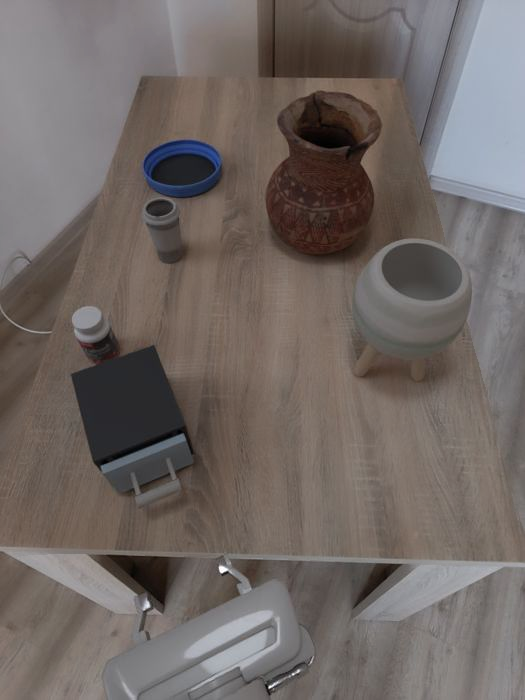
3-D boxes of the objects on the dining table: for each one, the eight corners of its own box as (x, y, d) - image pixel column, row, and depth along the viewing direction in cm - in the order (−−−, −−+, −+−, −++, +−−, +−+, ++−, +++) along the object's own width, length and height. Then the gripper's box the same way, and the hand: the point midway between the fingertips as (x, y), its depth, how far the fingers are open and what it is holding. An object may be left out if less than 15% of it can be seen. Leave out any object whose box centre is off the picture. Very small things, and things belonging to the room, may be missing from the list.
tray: (205, 493, 68) (198, 473, 61) (128, 527, 65) (111, 510, 59) (166, 390, 78) (156, 363, 71) (97, 416, 75) (80, 390, 68)
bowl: (231, 158, 115) (230, 144, 112) (208, 205, 105) (207, 191, 102) (161, 147, 118) (159, 134, 115) (133, 193, 108) (129, 179, 105)
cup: (150, 266, 95) (136, 219, 85) (155, 243, 98) (143, 195, 88) (186, 267, 94) (176, 219, 85) (190, 243, 98) (181, 195, 88)
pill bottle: (88, 369, 81) (68, 334, 73) (86, 343, 84) (66, 307, 76) (122, 361, 82) (106, 326, 74) (118, 335, 85) (103, 299, 77)
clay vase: (383, 257, 96) (415, 142, 75) (284, 279, 92) (289, 165, 72) (342, 190, 108) (360, 75, 87) (253, 208, 104) (250, 93, 84)
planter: (450, 393, 78) (507, 306, 59) (356, 411, 76) (384, 327, 58) (413, 317, 87) (453, 221, 68) (328, 332, 85) (345, 237, 67)
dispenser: (194, 453, 72) (185, 425, 64) (113, 487, 70) (92, 461, 61) (166, 378, 80) (154, 344, 72) (91, 406, 77) (70, 373, 69)
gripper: (326, 665, 45) (267, 528, 53) (117, 780, 41) (83, 614, 48) (320, 666, 51) (267, 541, 58) (134, 768, 46) (101, 619, 53)
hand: (182, 575), depth 53 cm, fingers open, 8 cm apart
